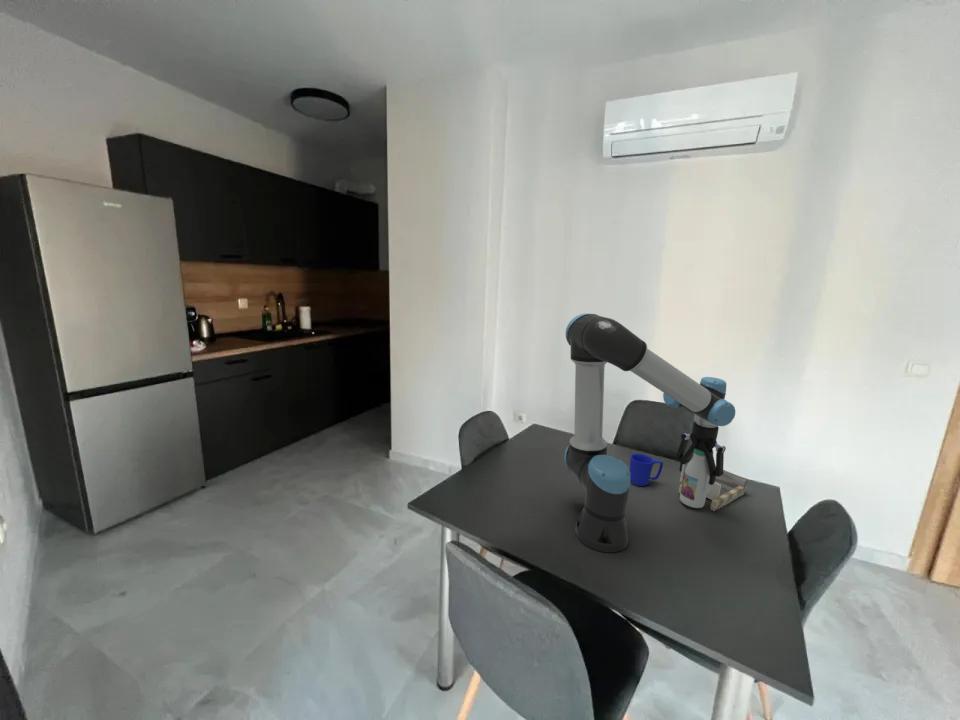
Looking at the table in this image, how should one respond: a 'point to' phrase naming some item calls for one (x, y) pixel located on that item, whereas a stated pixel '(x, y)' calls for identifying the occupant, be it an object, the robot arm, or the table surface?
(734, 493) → the lane
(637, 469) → the mug
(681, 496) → the milk bottle
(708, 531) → the table surface
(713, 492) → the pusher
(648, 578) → the table surface
